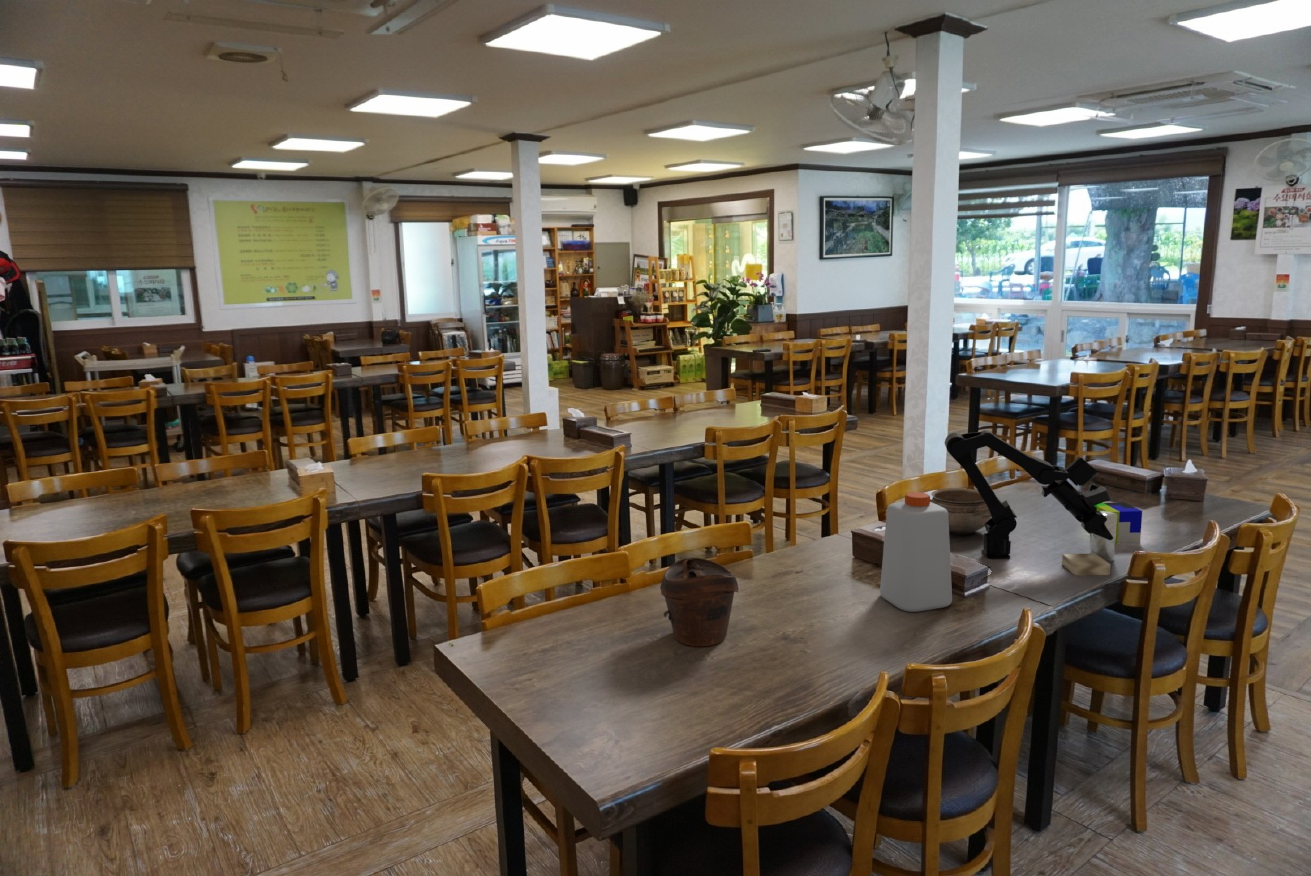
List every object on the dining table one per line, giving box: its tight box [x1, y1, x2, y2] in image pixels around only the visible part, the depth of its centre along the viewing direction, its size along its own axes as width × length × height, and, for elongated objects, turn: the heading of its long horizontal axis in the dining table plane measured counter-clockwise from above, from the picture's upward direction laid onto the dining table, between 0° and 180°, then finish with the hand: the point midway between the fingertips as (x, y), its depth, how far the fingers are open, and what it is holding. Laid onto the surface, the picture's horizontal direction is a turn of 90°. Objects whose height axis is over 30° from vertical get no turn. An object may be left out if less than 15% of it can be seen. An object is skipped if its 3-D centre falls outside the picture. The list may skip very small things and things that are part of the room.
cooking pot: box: [930, 487, 992, 536], centre depth 270 cm, size 25×19×12 cm
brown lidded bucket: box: [660, 556, 740, 647], centre depth 200 cm, size 18×20×18 cm
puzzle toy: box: [1090, 501, 1143, 545], centre depth 258 cm, size 10×10×10 cm
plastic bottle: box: [879, 491, 953, 613], centre depth 215 cm, size 15×15×28 cm
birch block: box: [1061, 553, 1111, 576], centre depth 234 cm, size 9×9×3 cm
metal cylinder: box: [1089, 511, 1117, 563], centre depth 240 cm, size 6×6×13 cm
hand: (1108, 535), depth 240 cm, fingers closed on metal cylinder, 6 cm apart
